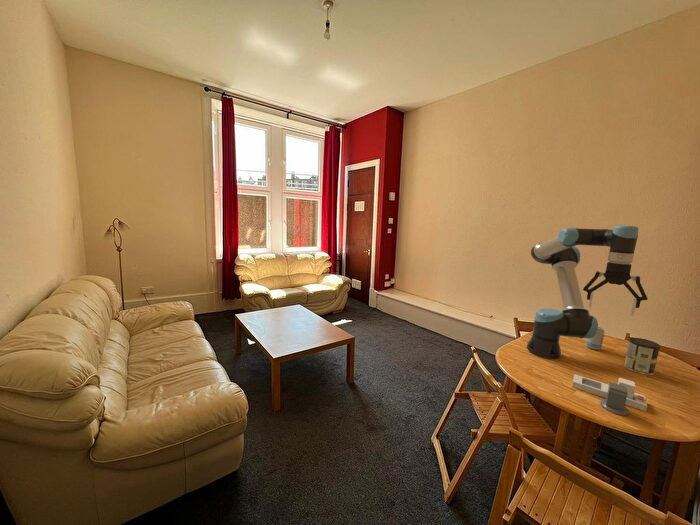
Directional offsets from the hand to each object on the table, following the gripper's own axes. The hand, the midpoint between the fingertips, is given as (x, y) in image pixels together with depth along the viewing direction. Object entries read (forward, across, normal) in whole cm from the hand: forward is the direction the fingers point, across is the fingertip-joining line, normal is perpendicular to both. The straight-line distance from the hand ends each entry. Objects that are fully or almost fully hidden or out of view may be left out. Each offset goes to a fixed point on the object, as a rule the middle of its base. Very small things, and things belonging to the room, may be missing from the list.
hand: (610, 311), depth 122 cm
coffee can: (+32, +15, +25) cm, 43 cm away
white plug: (+30, +8, -13) cm, 34 cm away
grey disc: (+32, +5, -23) cm, 39 cm away
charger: (+31, +5, -23) cm, 39 cm away
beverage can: (+32, -2, +39) cm, 50 cm away
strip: (+32, +3, -13) cm, 34 cm away
